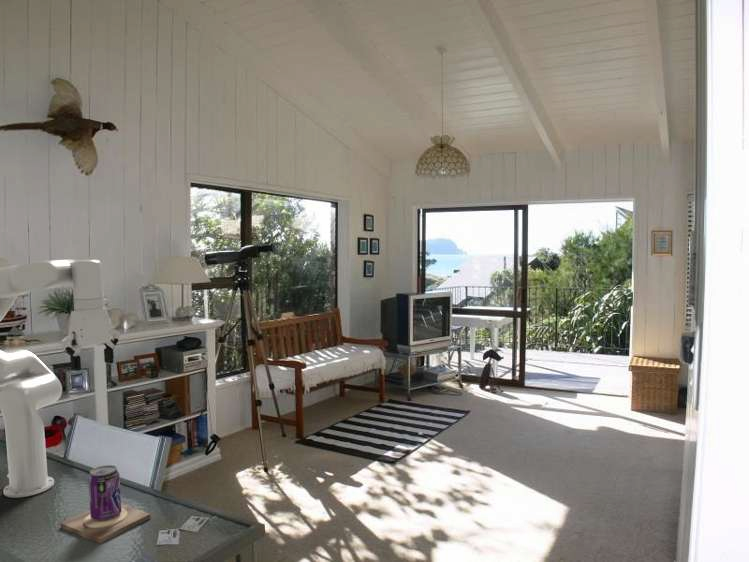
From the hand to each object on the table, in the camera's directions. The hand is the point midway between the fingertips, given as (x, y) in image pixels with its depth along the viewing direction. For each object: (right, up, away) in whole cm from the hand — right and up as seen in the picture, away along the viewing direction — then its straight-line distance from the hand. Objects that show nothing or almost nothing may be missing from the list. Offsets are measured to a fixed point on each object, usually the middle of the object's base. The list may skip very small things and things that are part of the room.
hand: (93, 366), depth 162 cm
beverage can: (+10, -36, -14) cm, 40 cm away
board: (+10, -37, -15) cm, 41 cm away
